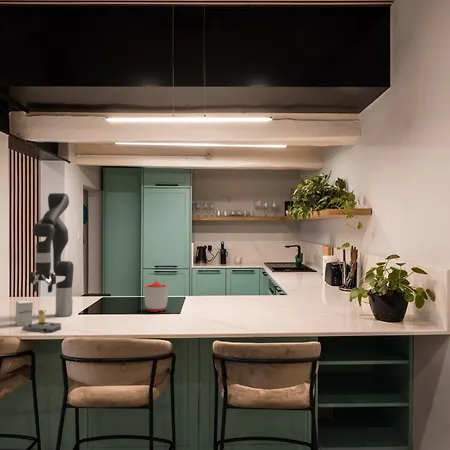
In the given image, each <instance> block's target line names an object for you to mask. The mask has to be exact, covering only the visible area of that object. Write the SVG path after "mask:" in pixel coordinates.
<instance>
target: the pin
mask: <svg viewBox="0 0 450 450" xmlns="http://www.w3.org/2000/svg"><path fill="white" fill-rule="evenodd" d="M46 312H47V311H46V309H40V310H38V322H39V324H40V325H43V324H45V322H46Z"/></svg>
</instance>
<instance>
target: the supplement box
mask: <svg viewBox="0 0 450 450" xmlns="http://www.w3.org/2000/svg"><path fill="white" fill-rule="evenodd" d="M33 308H34V302H33V301H32V300H19V301H16V302H15V325H16V326H17V327H23V326H27V325H29V324H33V310H34V309H33Z"/></svg>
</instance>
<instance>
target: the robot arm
mask: <svg viewBox="0 0 450 450" xmlns="http://www.w3.org/2000/svg"><path fill="white" fill-rule="evenodd" d="M69 204H70V197H69V195H68V194H67V193H61V192H58V193H56V192H54V193H48V197H47V205H48V210H47V211H46V212H45V213H44V215H43V217H42V218H41V219H39V220H38V221H37V222H35V224H34V225H33V228H32V234H33V235H34V236H35V237H37V238H45V239H44V240H43V241H42V240H41V241H37V242H36V244H35V245H36V246H35V247H36V248H35V249H36V251H35V252H36V253H35V263H34V264H35V268H34V269H35V271H31V272H30V274H29V275H30V276H29V283H30V284H32V285H33V288H32V290H33V292H39V284H38V283H40V281H41V282H45V283H46V284H47V293H48V294H49V293H52V291H53V285H55V317H59V318H63V317H70V316H72V314H73V281H74V263H73V262H72V261H69V260H67V261H66V260H62V253H63V251H64V249H65V248H66V246H67V244H68V242H69V231H68V230H69V229H68V228H67V226H66V224H65V223H64V222H63V221H62V219H61V218H60V216H61V215H62V214H63V213H64V212H65V211H66V210H67V208H68V207H69ZM51 246H52V248H51ZM51 249H52V251H53V252H52V253H53V254H52V255H53V257H52V255H51ZM52 258H53V260H52ZM52 261H53V263H52ZM52 264H53V266H52ZM52 267H53V272H51V269H52ZM57 277H64V279H63V280H60V281H58V282H57Z"/></svg>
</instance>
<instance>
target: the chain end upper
mask: <svg viewBox="0 0 450 450" xmlns="http://www.w3.org/2000/svg"><path fill="white" fill-rule="evenodd" d="M31 328H42V329H47V331H46V333H55V332H57V330H58V331H61V330H62V322H49V321H45V324H43V325H40V324H39V321H38V322H35V323H32V324H31Z"/></svg>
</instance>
